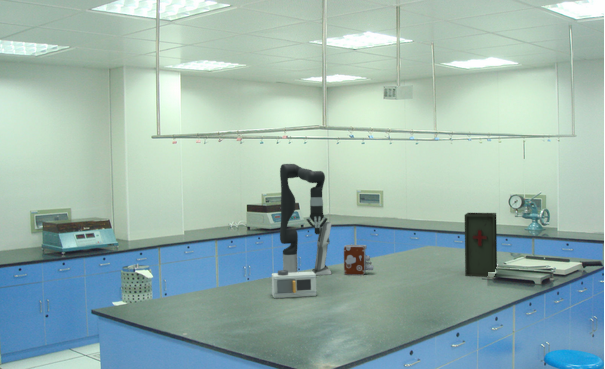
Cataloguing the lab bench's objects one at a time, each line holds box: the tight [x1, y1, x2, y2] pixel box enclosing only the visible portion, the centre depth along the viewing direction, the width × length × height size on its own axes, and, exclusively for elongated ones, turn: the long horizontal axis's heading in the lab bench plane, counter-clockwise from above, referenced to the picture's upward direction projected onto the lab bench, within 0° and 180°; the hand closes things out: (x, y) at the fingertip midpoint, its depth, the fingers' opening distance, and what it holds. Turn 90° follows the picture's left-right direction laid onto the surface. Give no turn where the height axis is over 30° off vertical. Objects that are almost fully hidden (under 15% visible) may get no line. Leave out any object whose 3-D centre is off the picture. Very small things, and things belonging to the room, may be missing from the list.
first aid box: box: [464, 212, 498, 278], centre depth 370 cm, size 18×18×40 cm
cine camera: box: [343, 244, 374, 276], centre depth 378 cm, size 9×19×20 cm, turn 78°
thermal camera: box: [311, 221, 332, 276], centre depth 383 cm, size 12×13×35 cm
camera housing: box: [271, 269, 318, 299], centre depth 318 cm, size 11×24×14 cm, turn 99°
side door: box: [277, 279, 296, 293], centre depth 310 cm, size 5×10×7 cm, turn 99°
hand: (317, 234), depth 330 cm, fingers closed
